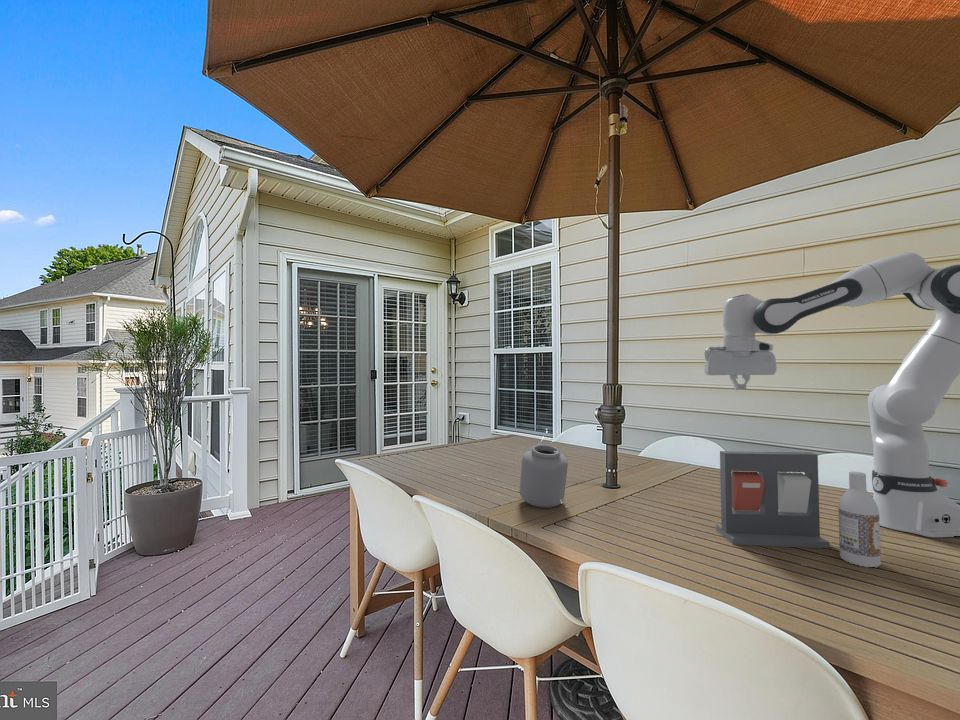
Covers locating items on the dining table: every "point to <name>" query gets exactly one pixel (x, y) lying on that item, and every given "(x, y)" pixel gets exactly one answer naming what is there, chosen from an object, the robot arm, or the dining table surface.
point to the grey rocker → (793, 492)
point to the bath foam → (859, 524)
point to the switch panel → (770, 502)
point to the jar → (543, 476)
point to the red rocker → (746, 491)
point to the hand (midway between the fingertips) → (740, 389)
